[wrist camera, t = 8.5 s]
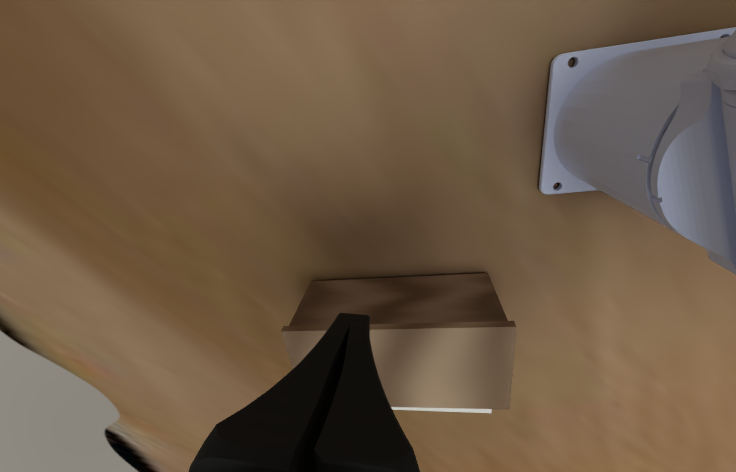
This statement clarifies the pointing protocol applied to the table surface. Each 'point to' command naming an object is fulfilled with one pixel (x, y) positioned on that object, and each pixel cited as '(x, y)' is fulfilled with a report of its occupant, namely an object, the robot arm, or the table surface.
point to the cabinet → (420, 336)
